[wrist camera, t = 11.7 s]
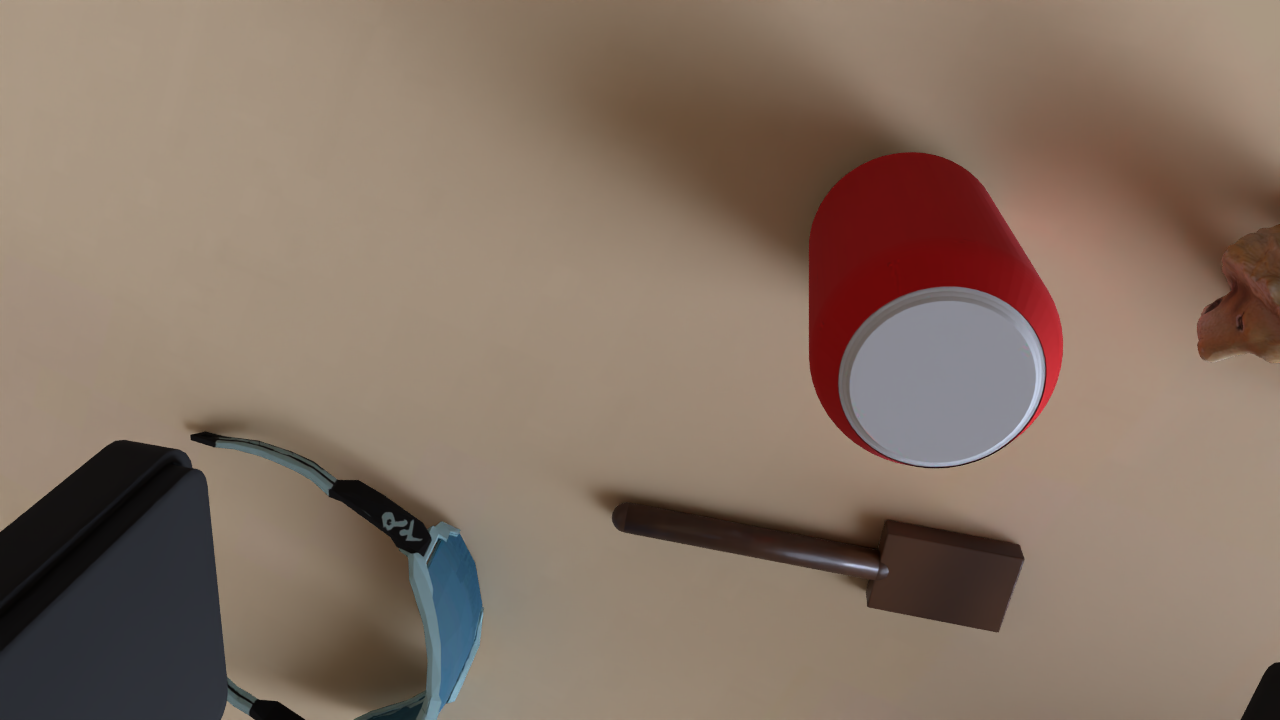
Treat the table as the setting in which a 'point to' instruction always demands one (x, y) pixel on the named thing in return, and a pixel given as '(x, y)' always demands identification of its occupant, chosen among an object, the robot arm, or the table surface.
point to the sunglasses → (437, 586)
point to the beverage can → (926, 315)
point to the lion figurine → (1246, 302)
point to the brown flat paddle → (866, 562)
